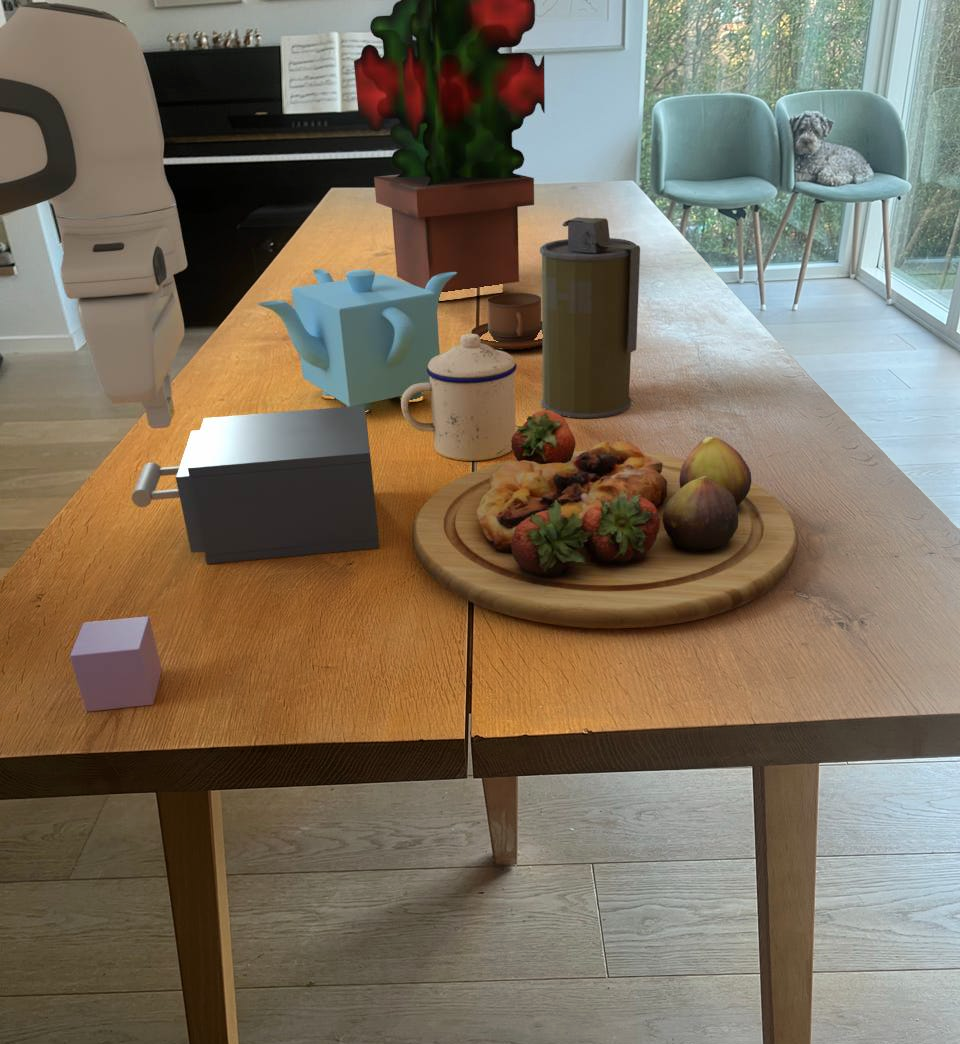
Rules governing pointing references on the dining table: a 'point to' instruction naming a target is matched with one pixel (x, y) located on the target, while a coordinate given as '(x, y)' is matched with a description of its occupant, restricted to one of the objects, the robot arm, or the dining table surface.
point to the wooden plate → (605, 532)
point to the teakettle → (364, 334)
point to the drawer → (172, 491)
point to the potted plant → (453, 134)
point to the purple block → (116, 663)
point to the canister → (588, 320)
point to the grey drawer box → (284, 484)
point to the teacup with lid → (469, 401)
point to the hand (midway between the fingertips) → (162, 422)
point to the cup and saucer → (512, 321)
